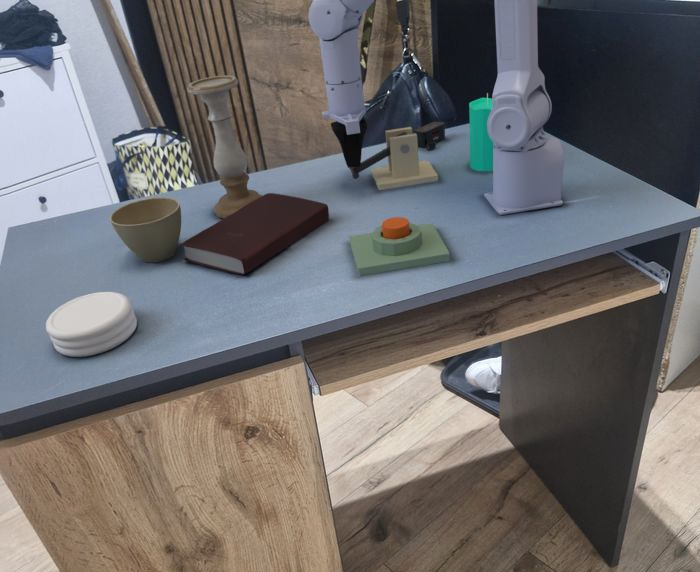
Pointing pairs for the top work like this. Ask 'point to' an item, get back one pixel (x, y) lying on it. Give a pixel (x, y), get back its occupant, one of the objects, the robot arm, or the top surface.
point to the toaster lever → (371, 160)
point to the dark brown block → (430, 135)
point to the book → (255, 233)
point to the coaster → (91, 324)
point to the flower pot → (149, 227)
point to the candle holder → (225, 144)
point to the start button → (395, 228)
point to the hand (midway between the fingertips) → (353, 165)
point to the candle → (480, 135)
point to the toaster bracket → (403, 162)
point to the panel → (398, 250)
